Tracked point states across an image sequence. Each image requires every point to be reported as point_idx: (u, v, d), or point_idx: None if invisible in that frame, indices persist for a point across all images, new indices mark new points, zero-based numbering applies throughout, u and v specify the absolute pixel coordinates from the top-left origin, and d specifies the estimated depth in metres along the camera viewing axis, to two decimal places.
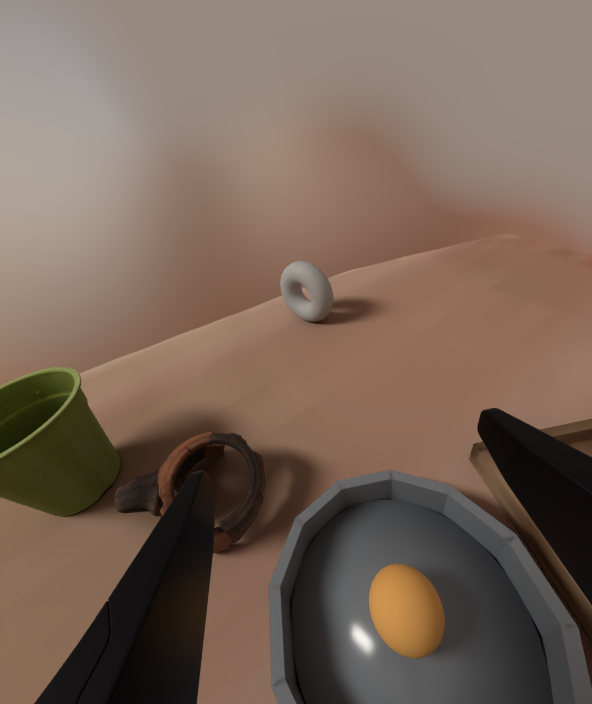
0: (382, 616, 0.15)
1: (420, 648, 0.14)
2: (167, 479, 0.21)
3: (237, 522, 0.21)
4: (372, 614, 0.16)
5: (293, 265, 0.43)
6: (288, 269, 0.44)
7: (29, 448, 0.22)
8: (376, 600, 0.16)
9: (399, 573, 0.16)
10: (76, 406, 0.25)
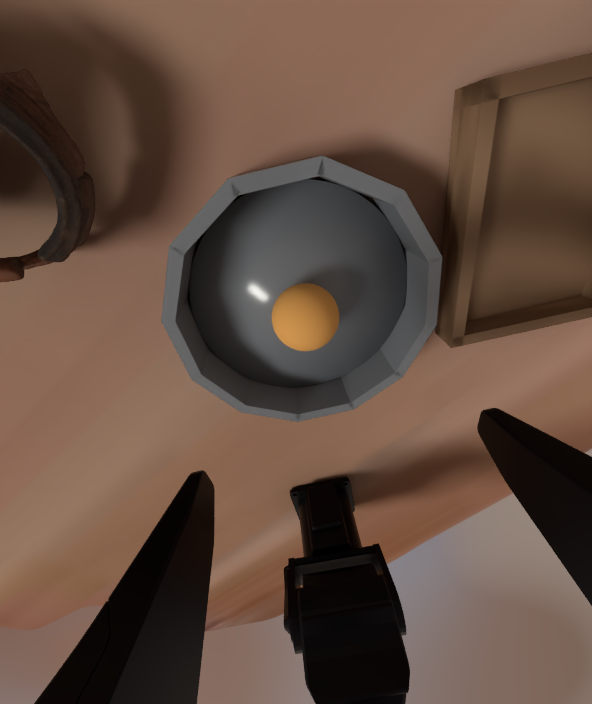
0: (284, 340, 0.16)
1: None
2: None
3: (71, 248, 0.13)
4: (274, 330, 0.17)
5: None
6: None
7: None
8: (280, 328, 0.16)
9: (307, 313, 0.15)
10: None
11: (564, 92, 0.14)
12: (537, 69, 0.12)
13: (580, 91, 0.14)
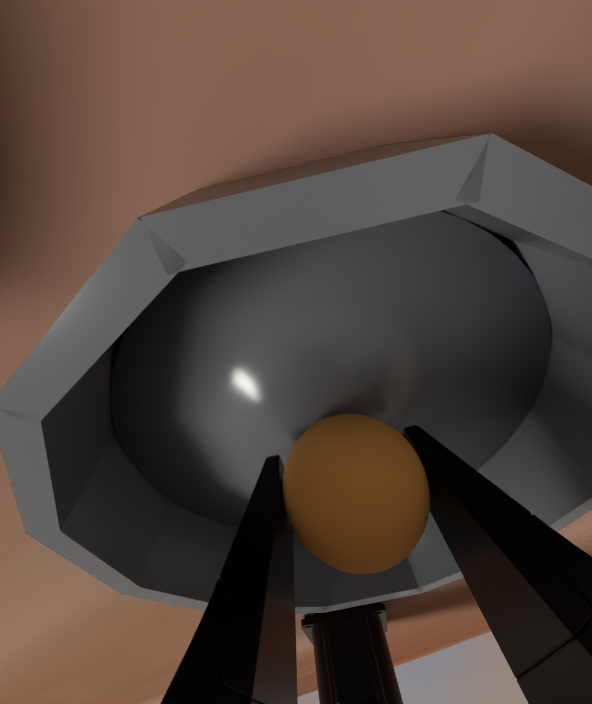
0: (312, 553, 0.07)
1: None
2: None
3: None
4: (289, 520, 0.08)
5: None
6: None
7: None
8: (303, 536, 0.07)
9: (372, 529, 0.06)
10: None
11: None
12: None
13: None
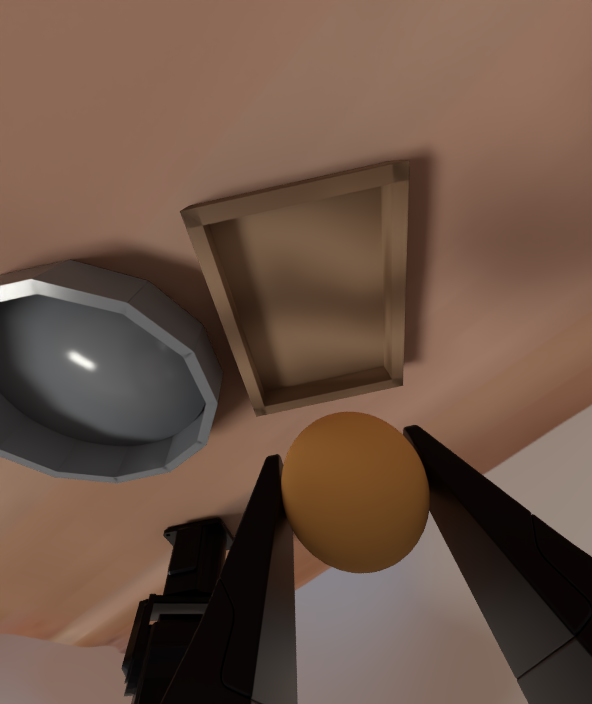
0: None
1: None
2: None
3: None
4: (288, 519, 0.08)
5: None
6: None
7: None
8: (301, 535, 0.07)
9: (371, 528, 0.06)
10: None
11: (289, 209, 0.16)
12: (228, 203, 0.14)
13: (304, 208, 0.16)
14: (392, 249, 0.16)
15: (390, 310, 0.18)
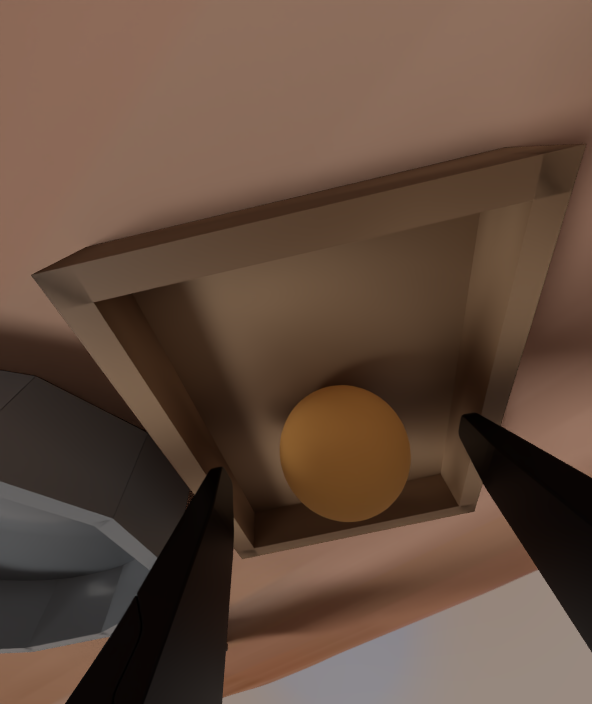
0: (305, 505, 0.08)
1: None
2: None
3: None
4: None
5: None
6: None
7: None
8: (297, 489, 0.08)
9: (357, 476, 0.07)
10: None
11: None
12: (145, 254, 0.06)
13: (322, 248, 0.08)
14: (501, 330, 0.08)
15: None
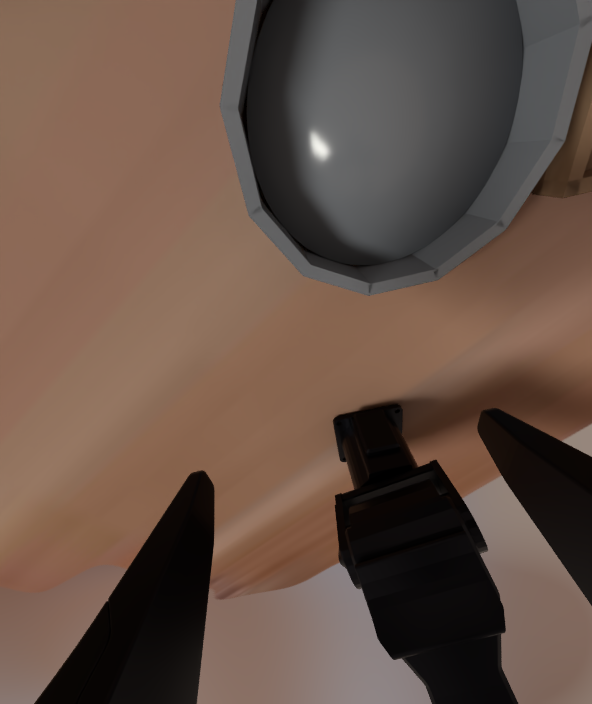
0: None
1: None
2: None
3: None
4: None
5: None
6: None
7: None
8: None
9: None
10: None
11: None
12: None
13: None
14: None
15: None
